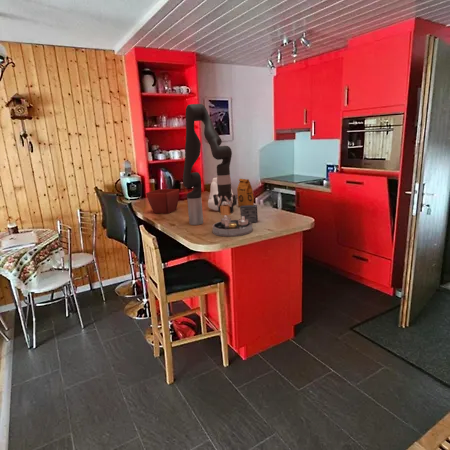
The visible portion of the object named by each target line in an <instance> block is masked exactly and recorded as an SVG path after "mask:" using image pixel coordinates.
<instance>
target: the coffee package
mask: <svg viewBox="0 0 450 450" xmlns="http://www.w3.org/2000/svg"><path fill="white" fill-rule="evenodd" d="M238 181H239V182H238V186H237V187H236V189H237V190H236V195H237V206H238V207H239V208H240V207H241V206H246V205H254V199H255V198H254V191H253V187H252V183H251V182H250V179H245V178H239V179H238Z"/></svg>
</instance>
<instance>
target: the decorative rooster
mask: <svg viewBox="0 0 450 450" xmlns="http://www.w3.org/2000/svg"><path fill="white" fill-rule="evenodd" d="M209 188H210V193H209V196H208V201H207V207H208V208H209V209H210V210H212V211H215V212H217V211H218V206H217V205H215V203H214V198H213V195H215V194H218V187H217V176H216V177H213V178H212V180H211V183H210V187H209ZM231 193H232V195H234V193H233V189H232V188H231ZM219 199H220V198H219V197H218V203H219ZM231 200H232V203H233V198H232V197H231ZM224 204H228V203H227V202H225V201H224V202H222V205H224ZM218 212H219V211H218Z"/></svg>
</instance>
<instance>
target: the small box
mask: <svg viewBox="0 0 450 450" xmlns="http://www.w3.org/2000/svg"><path fill="white" fill-rule="evenodd" d="M239 210H240V212H239V213H240V217H241V216H245V219H248V221H250V222H251V223H252V224H255V223H256V224H257V223H258V221H259V220H258V219H259V218H258V204H255V205H246V206H241V207H240V206H239Z"/></svg>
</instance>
